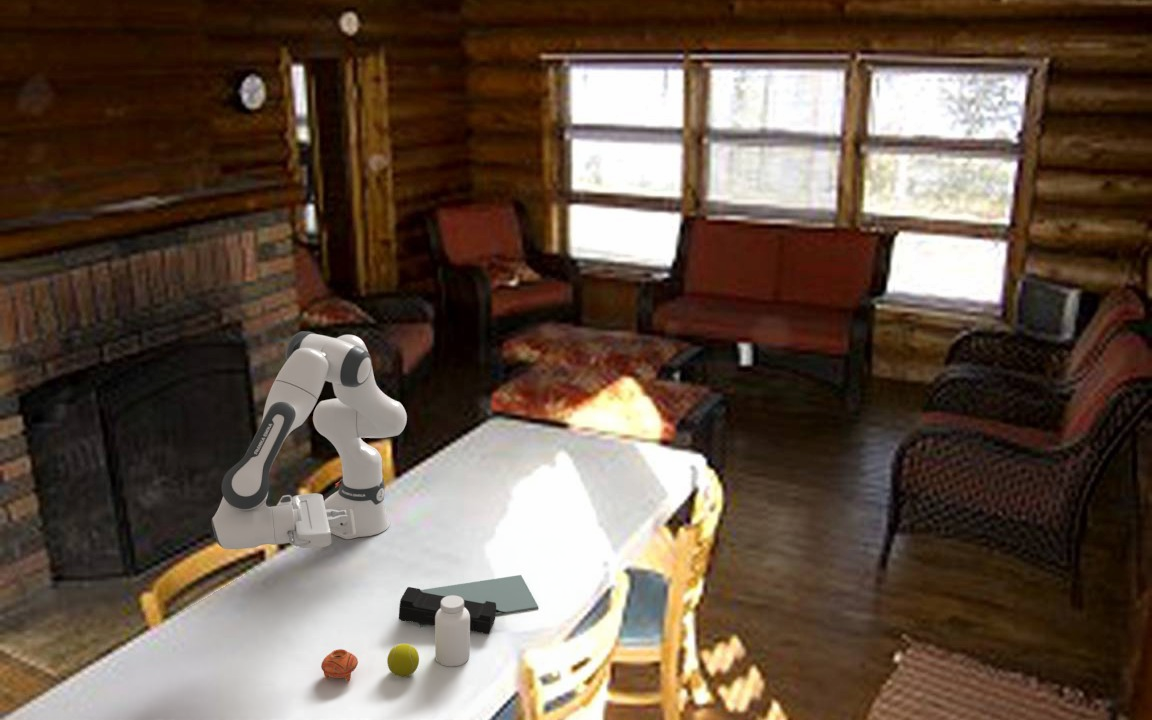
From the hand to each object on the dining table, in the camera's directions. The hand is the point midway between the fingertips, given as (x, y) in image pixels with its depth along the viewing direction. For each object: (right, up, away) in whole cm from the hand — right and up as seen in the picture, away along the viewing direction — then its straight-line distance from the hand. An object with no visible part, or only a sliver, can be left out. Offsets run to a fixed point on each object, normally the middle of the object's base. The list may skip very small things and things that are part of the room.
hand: (347, 515), depth 242 cm
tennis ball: (+15, -34, -11) cm, 39 cm away
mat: (+28, -24, +18) cm, 41 cm away
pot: (+1, -34, -13) cm, 37 cm away
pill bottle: (+26, -32, -5) cm, 42 cm away
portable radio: (+12, -23, +7) cm, 27 cm away
